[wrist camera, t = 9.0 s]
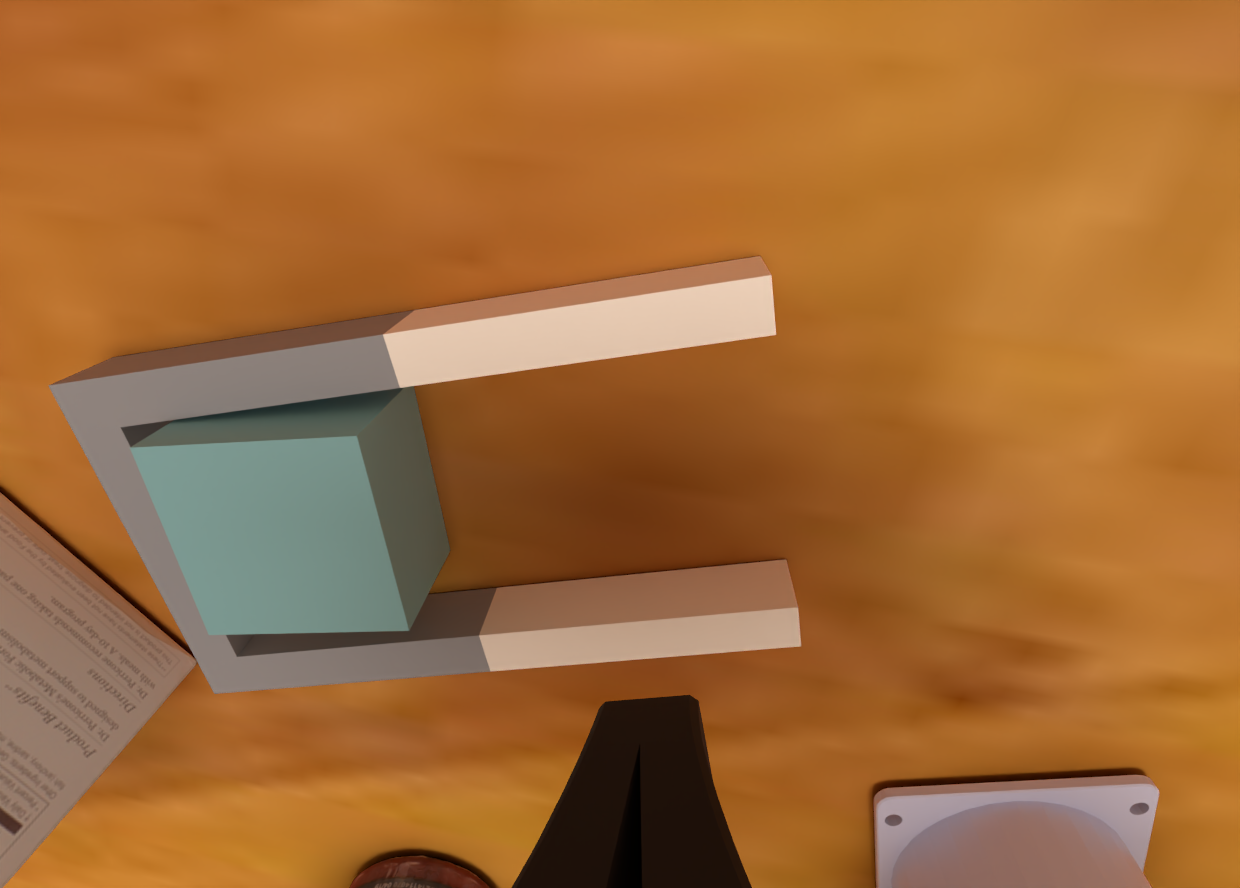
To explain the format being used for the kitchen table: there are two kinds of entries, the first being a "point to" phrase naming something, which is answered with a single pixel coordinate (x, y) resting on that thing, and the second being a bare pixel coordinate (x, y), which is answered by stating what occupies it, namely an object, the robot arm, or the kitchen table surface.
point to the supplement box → (66, 681)
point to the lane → (423, 354)
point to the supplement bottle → (416, 874)
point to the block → (301, 513)
